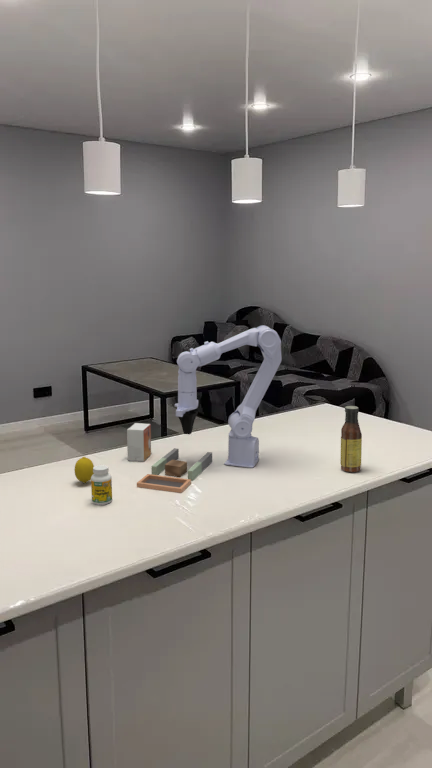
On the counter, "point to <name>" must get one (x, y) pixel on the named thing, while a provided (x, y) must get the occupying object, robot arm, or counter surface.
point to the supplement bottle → (101, 485)
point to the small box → (139, 442)
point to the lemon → (84, 469)
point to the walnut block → (175, 468)
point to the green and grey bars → (174, 455)
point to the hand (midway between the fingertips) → (187, 433)
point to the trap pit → (164, 483)
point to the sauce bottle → (351, 441)
